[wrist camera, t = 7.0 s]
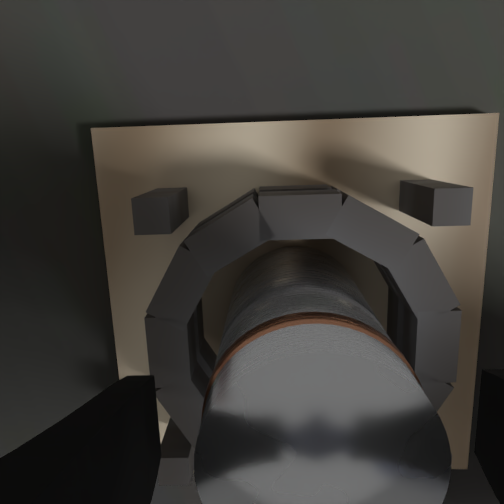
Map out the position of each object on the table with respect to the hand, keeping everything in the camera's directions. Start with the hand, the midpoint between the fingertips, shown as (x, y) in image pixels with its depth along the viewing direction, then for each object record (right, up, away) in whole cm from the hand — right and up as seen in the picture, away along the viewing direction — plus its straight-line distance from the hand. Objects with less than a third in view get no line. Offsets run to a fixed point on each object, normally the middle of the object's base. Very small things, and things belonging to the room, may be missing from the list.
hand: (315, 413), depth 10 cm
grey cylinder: (0, +2, +6) cm, 6 cm away
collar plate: (0, +2, +6) cm, 7 cm away
